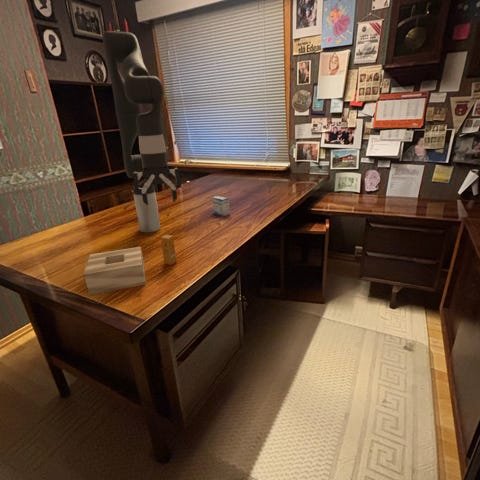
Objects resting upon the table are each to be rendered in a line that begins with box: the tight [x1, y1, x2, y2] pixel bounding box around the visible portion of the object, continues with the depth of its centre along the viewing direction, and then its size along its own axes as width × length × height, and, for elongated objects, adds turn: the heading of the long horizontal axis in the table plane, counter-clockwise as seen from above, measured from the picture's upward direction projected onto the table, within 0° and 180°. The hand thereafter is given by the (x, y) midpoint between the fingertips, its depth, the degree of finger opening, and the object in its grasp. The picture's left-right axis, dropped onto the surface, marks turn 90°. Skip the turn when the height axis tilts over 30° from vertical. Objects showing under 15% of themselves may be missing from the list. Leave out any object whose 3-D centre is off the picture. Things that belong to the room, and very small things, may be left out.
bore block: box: [83, 246, 147, 296], centre depth 95 cm, size 14×16×7 cm
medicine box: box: [211, 195, 230, 217], centre depth 153 cm, size 8×4×9 cm, turn 47°
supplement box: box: [160, 234, 177, 266], centre depth 104 cm, size 3×3×10 cm
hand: (160, 202), depth 97 cm, fingers open, 8 cm apart
